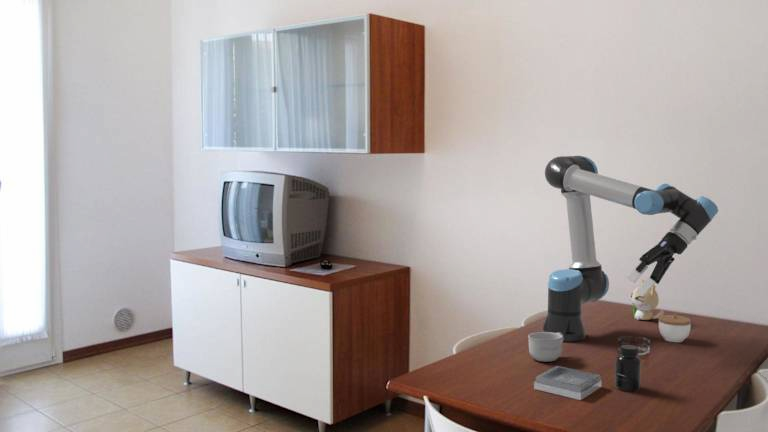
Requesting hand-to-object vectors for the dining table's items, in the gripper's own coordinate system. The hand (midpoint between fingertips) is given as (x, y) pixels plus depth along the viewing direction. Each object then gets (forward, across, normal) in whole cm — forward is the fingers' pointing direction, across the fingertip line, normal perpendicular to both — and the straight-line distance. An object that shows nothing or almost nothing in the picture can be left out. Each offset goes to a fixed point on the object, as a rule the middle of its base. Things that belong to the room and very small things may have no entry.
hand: (634, 287), depth 234 cm
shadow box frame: (+38, -24, -14) cm, 47 cm away
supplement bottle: (+27, -16, -24) cm, 39 cm away
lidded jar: (+1, +37, -9) cm, 38 cm away
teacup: (+36, -3, +4) cm, 36 cm away
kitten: (-1, +58, +11) cm, 60 cm away
